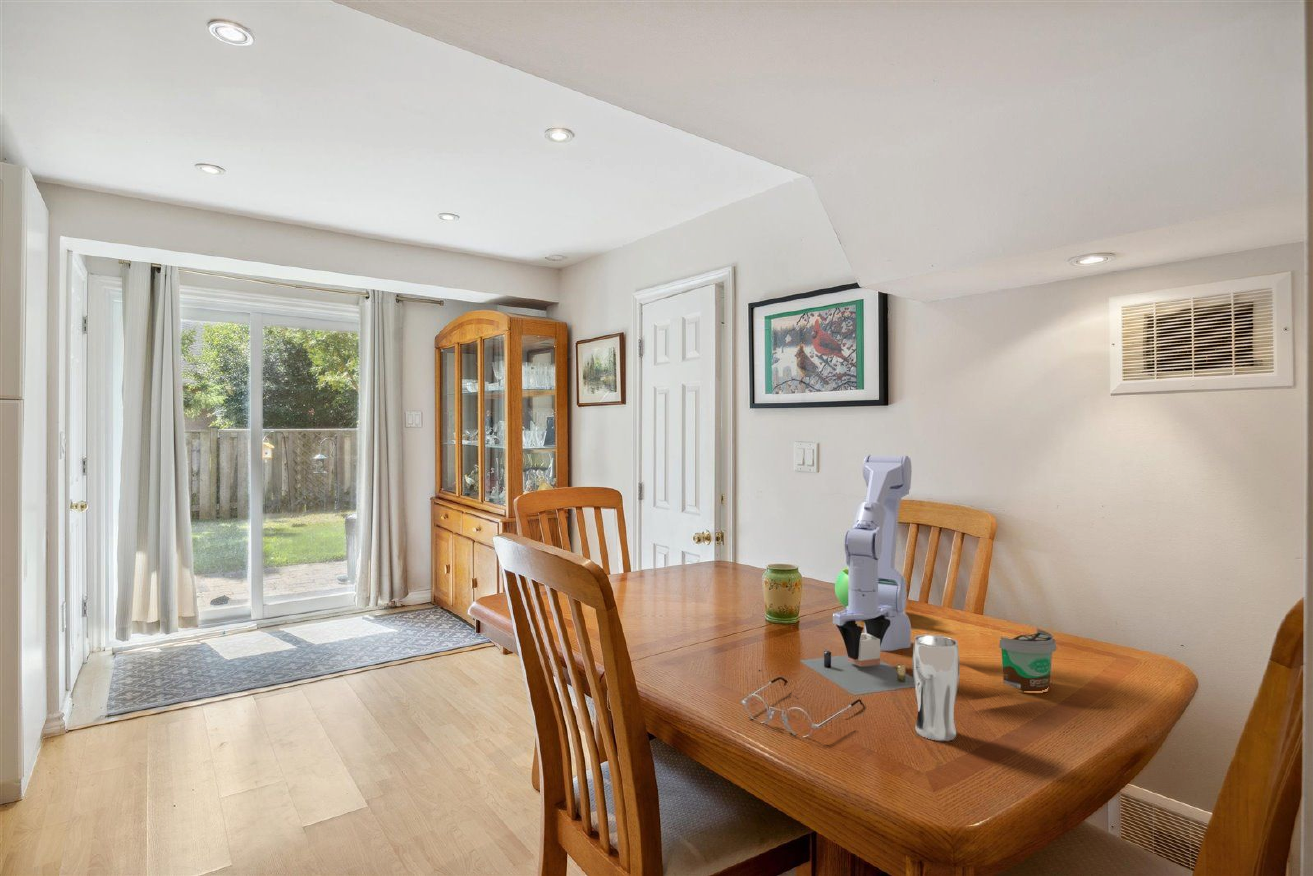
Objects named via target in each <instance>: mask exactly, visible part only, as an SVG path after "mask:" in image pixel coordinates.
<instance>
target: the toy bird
mask: <svg viewBox="0 0 1313 876" xmlns="http://www.w3.org/2000/svg"><path fill="white" fill-rule="evenodd" d="M905 581H906V583H907V582H908V580H907V578H905ZM878 582H882V581H878ZM884 583H891V582H884ZM893 584H897V583H893ZM834 592H835V596H836V598H837V600H838V602H839V604H841V605H842V607H843V608H845V609H846V606H849V566H847V567H845V568H843V569H841V571H840V572H839V574H838V575H837V577H836V580H835V582H834Z"/></svg>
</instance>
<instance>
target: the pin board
mask: <svg viewBox="0 0 1313 876" xmlns="http://www.w3.org/2000/svg"><path fill="white" fill-rule="evenodd" d="M798 661H799V662H800V663H802V664H804V665H805V666H806V667H808V668H809V669H810V668H811V669H812V670H813V671H815V672H817V673H818V674H819V675H821V676H823V677H824V678H826V679H828V680H829V681H830V682H832V683H834V684H836V685H837V686H839V687H840V688H842V689H843V690H845V691H847V692H848V693H849V694H851V695H853V696H858V695H867V694H874V693H881V692H888V691H895V690H902V689H909V688H910V689H911V688H915V684H914V677H913V675H910V674H908V673H906V672H905V682H898V681H897V667H894V666H892V665H891V664H888V663H886V662H884V661H882V660H880V664H878V665H871V666H863V667H860V666H858V665H856V664H854V663H853V662H851V661H849V660H847V654H841V655H834V656H831V668H825V667H824V657H818V658H810V659H801V660H798Z"/></svg>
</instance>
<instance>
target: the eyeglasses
mask: <svg viewBox="0 0 1313 876" xmlns="http://www.w3.org/2000/svg"><path fill="white" fill-rule="evenodd" d="M779 680H781V681H783V682H784V683H788V682H789V681H788V680H787V679H785V678H784V677H781V676H780V677H779V676H778V677H777V678H776V677H775V678H774V679H772V680H771V681H769V683H768V684H767V685H766V684H765V686H763V687H761V688H759V689H758V690H756V691H754V692H753V693H751V694H750V695H747V697H745V698H744V699H743V700H741V704H742V705H743V706H745V709H746V712H747V714H748V717H750V719H751V720H752V719H754V720H753V721H755V720H756V719H755V718H754V717H753V716H752V715H751V713H750V711H749V710H748V706H747V705H748V704H747V703H748V702H747V701H749V700H750V699H751V698H753V697H757V698H759V699H760V701H762V702H763V704H764V706H765V708H766V711H767V717H766V719H765V721H762V722H760V724H763V723H764V724H763V725H767V724H768V723H769V722H770V720H772V719H773V717H774V714H775V711H779V712H781V716H780V718H782V722H783V725H784V727H785V729H786V730H787V732H788V733H789V734H791V733H792V735H796V733H795V732H794V731H793V730H792V729H791V728H790V727H789V725H788V723H789V721H788V717H787V713H788V712H789V711H790V710H793V709H795V710H799V711H802V713H804V714H805V715H806V716H807V717H808V719H809V721H810V722H811V723H810V724H811V730H810V732H809V734H807V735H803V736H802V737H803V738H807V737H809V736H810V735H811V734H812V733H813V730H814V729H820V728H822V726H824V725H826V724H827V723H828V722H830V721H832V720H834V719H835V718H837V717H838V716H840V715H841V714H843V713H844V712H845V711H846V710H848V709H850V708H853V707H854V706H855V705H856V704H858V703H859V704H862V699H860V698H859V699H856V700H855V701H853V702H851V703H850V704H849V705H848V706H847V707H846V708H844V709H841V710H840V711H838V712H837V713H835V714H834V715H833V716H831V717H829V718H828V719H826V720H825V721H823V722H821V723H819V724H816V723H815V724H814V723H813V720H812V718H811V716H810V715H809V714H808V713H807V711H805V710H804V709H803V708H800V707H795V706H794V707H790V708H788V709H787V711H786V712H785V711H784V710H783V709H779V708H776V707H772V706H769V708H768V705H767V703H766V701H765V700H764V699H763V698H762V696H760V695H758V694H759V693H760V692H761V691H763V690H765V689H766V687H769V685H773V684H774V683H775V682H777V681H779ZM774 710H775V711H774ZM784 712H785V714H784Z"/></svg>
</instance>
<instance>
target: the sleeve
mask: <svg viewBox="0 0 1313 876" xmlns="http://www.w3.org/2000/svg"><path fill="white" fill-rule="evenodd" d="M846 655H847V660H849V661H851V662H853V663H854V664H856V665H858V666H860V667H863V666H871V665H878V664H880V661H881V650H880V639H878V638H876V637H874V636H872V635H870V634H868V633H865V632H862V633H861V637H860V642H859V655H858V659H856V660H854V659H852V658H850V657H848V654H847V653H846Z"/></svg>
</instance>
